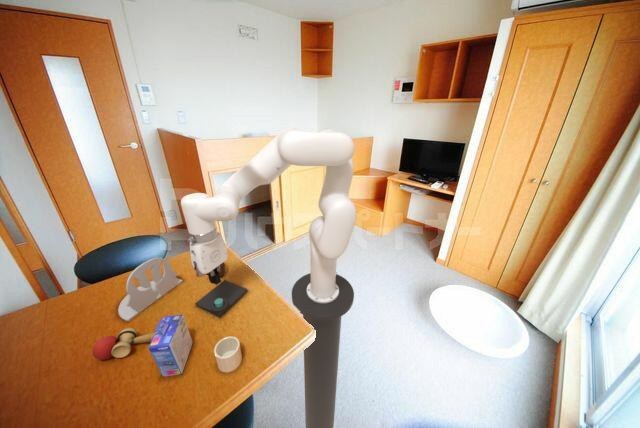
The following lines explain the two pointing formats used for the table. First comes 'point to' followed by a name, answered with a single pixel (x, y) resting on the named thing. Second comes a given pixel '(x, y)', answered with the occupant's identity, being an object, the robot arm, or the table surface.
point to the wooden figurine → (222, 269)
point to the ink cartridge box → (171, 345)
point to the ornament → (147, 287)
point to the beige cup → (228, 354)
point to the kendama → (119, 344)
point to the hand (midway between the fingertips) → (215, 282)
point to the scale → (227, 293)
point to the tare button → (219, 303)
